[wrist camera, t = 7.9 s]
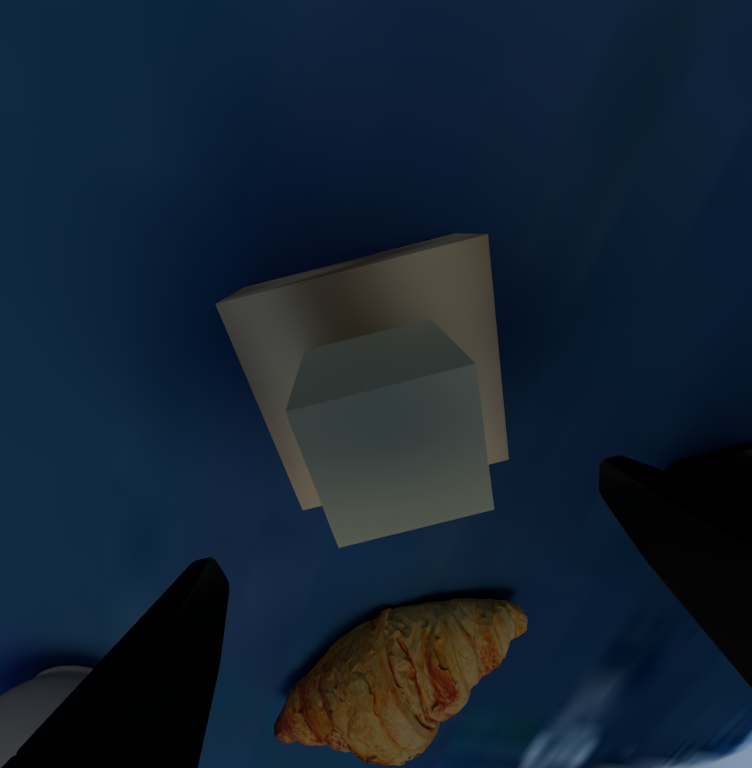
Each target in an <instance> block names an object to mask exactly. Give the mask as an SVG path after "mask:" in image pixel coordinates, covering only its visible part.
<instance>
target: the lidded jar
mask: <svg viewBox="0 0 752 768" xmlns="http://www.w3.org/2000/svg"><path fill="white" fill-rule="evenodd" d="M93 669H94V668H91V667H86V666H78V665H64V666H57V667H52V668H49V669H46V670H44V671H42V672H40V673H39V674H38V675H37V676H36V677H35V678H33V679H31V680H29V681H26V682H24V683H22V684H19V685H17V686H16V687H14V688H12V689H10V690H8V691H7V692H5V693H3V694H2V695H0V768H1V767H2V766H3V765H4V764H5V763H6V762H7V761H8V760H9V759H10V758H11V757H12V756H14V755H16V753H17V751H18V749H19V748H20V747H21V746H22V745H23V744H24V743H25V742H26V741H27V740H28V738H29V737H30V736H31V735H32V734H33V733H34V732H35V731H36V730H37V729H38V728H39V727H40V726H41V725H42V723H43V722H44V721H45V720H46V719H47V718H48V717H49V716H50V715H51V714H52V713H53V712H54V711H55V709H56V708H57V707H58V706H59V705H60V704H61V703H62V702H63V701H64V700H65V699H66V698H67V697H68V696H69V694H70V693H71V692H72V691H73V690H74V689H75V688H76V687H77V686H78V685H79V684H80V683H81V682H82V680H83V679H84V678H85V677H86V676H87V675H88V674H89V673H90V672H91V671H92V670H93Z"/></svg>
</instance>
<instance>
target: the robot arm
mask: <svg viewBox="0 0 752 768" xmlns="http://www.w3.org/2000/svg"><path fill="white" fill-rule="evenodd" d="M599 490H600V493H601V496H602V498H603V499H604V501H605V502H606V504H607V505H608V506H609V508H610V509H611V511H612V512H613V514H614V515H615V517H616V518H617V520H618V521H619V522H620V524H621V525H622V527H623V528H624V530H625V531H626V533H627V534H628V536H629V537H630V538H631V540H632V541H633V543H634V544H635V546H636V547H637V549H638V550H639V552H640V553H641V554H642V556H643V557H644V558H645V560H646V561H647V562H648V564H649V565H650V566H651V567H652V569H653V570H654V571H655V572H656V574H657V575H658V576H659V577H660V578H661V580H662V581H663V582H664V583H665V584H666V586H667V587H668V588H669V589H670V590H671V592H672V593H673V594H674V595H675V596H676V598H677V599H678V600H679V601H680V602H681V604H682V605H683V606H684V607H685V608H686V610H687V611H688V612H689V613H690V614H691V616H692V617H693V618H694V619H695V620H696V622H697V623H698V624H699V625H700V626H701V628H702V629H703V630H704V631H705V632H706V634H707V635H708V636H709V637H710V638H711V640H712V641H713V642H714V643H715V644H716V646H717V647H718V648H719V649H720V650H721V652H722V653H723V654H724V655H725V656H726V658H727V659H728V660H729V661H730V662H731V664H732V665H733V666H734V667H735V668H736V670H737V671H738V672H739V673H740V674H741V676H742V677H743V678H744V679H745V681H746V682H747V683H748V684H749V685H750V687H751V688H752V444H749V445H745V446H741V447H737V448H732V449H728V450H724V451H720V452H716V453H712V454H708V455H704V456H700V457H696V458H692V459H688V460H683V461H679V462H676V463H674V464H672V465H671V466H670V467H669V470H668V472H667V471H664V470H661V469H658V468H655V467H653V466H650V465H647V464H644V463H641V462H639V461H636V460H633V459H630V458H627V457H624V456H614V457H610V458H606V459H603V460H602V461H601V463H600V474H599ZM228 597H229V583H228V580H227V578H226V576H225V574H224V573H223V571H222V569H221V568H220V566H219V565H218V563H217V561H216V560H215V559H214V558H212V557H208V558H204V559H200V560H196V561H194V562H193V563H192V564H190V565H189V567H188V568H187V569H186V570H185V571H184V572H183V573H182V574H181V575H180V576H179V577H178V578H177V579H176V581H175V582H174V583H173V584H172V585H171V586H170V587H169V588H168V589H167V590H166V591H165V592H164V593H163V594H162V596H161V597H160V598H159V599H158V600H157V601H156V602H155V603H154V604H153V605H152V606H151V607H150V608H149V610H148V611H147V612H146V613H145V614H144V615H143V616H142V617H141V618H140V619H139V620H138V621H137V622H136V624H135V625H134V626H133V627H132V628H131V629H130V630H129V631H128V632H127V633H126V634H125V635H124V636H123V638H122V639H121V640H120V641H119V642H118V643H117V644H116V645H115V646H114V647H113V648H112V649H111V650H110V651H109V653H108V654H107V655H106V656H105V657H104V658H103V659H102V660H101V661H100V662H99V663H98V664H97V665H96V667H95V668H94V669H93V670H92V671H91V672H90V673H89V674H88V675H87V676H86V677H85V678H84V679H83V680H82V682H81V683H80V684H79V685H78V686H77V687H76V688H75V689H74V690H73V691H72V692H71V693H70V694H69V696H68V697H67V698H66V699H65V700H64V701H63V702H62V703H61V704H60V705H59V706H58V707H57V708H56V709H55V711H54V712H53V713H52V714H51V715H50V716H49V717H48V718H47V719H46V720H45V721H44V722H43V723H42V725H41V726H40V727H39V728H38V729H37V730H36V731H35V732H34V733H33V734H32V735H31V736H30V737H29V738H28V740H27V741H26V742H25V743H24V744H23V745H22V746H21V747H20V748H19V749H18V751H17V753H16V755H14V756H12V757H11V758H10V759H9V760H8V761H7V762H6V763H5V764H4V765H3V766H2V767H1V768H198V764H199V759H200V755H201V750H202V746H203V741H204V736H205V732H206V727H207V723H208V718H209V714H210V709H211V704H212V700H213V695H214V691H215V686H216V681H217V676H218V671H219V666H220V660H221V653H222V645H223V637H224V629H225V621H226V613H227V605H228Z"/></svg>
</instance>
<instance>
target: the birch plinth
mask: <svg viewBox="0 0 752 768" xmlns="http://www.w3.org/2000/svg"><path fill="white" fill-rule="evenodd" d="M216 307H217V309H218V311H219V314H220V316H221V318H222V321H223V323H224V326H225V328H226V330H227V333H228V335H229V337H230V340H231V342H232V344H233V347H234V349H235V351H236V354H237V356H238V359H239V361H240V363H241V366H242V368H243V370H244V373H245V375H246V377H247V380H248V382H249V384H250V387H251V389H252V392H253V394H254V396H255V399H256V401H257V403H258V406H259V408H260V410H261V413H262V415H263V417H264V420H265V422H266V425H267V427H268V429H269V432H270V434H271V436H272V439H273V441H274V443H275V446H276V448H277V450H278V453H279V455H280V458H281V460H282V462H283V465H284V467H285V469H286V472H287V474H288V476H289V479H290V481H291V484H292V486H293V488H294V491H295V493H296V495H297V498H298V500H299V502H300V505H301V507H302V509H303V510H306V509H310V508H314V507H318V506H322V504H321V502H320V499H319V497H318V494H317V491H316V489H315V486H314V484H313V481H312V479H311V476H310V474H309V471H308V469H307V466H306V464H305V461H304V459H303V456H302V453H301V451H300V448H299V446H298V443H297V441H296V438H295V436H294V433H293V431H292V428H291V426H290V423H289V421H288V418H287V415H286V413H285V411H286V408H287V405H288V401H289V398H290V395H291V392H292V389H293V386H294V382H295V379H296V376H297V373H298V370H299V366H300V363H301V360H302V357H303V354H304V351H305V350H309V349H313V348H317V347H321V346H325V345H329V344H333V343H337V342H341V341H345V340H348V339H352V338H356V337H360V336H364V335H368V334H372V333H376V332H380V331H384V330H388V329H391V328H395V327H399V326H403V325H407V324H411V323H415V322H419V321H423V320H427V319H432V320H433V321H434V322H435V323H436V324H437V325H438V326H439V327H440V328H441V329H442V330H443V331H444V332H445V333H446V334H447V335H448V336H449V337H450V338H451V339H452V340H453V341H454V342H455V343H456V344H457V345H458V346H459V347H460V348H461V349H462V350H463V351H464V352H465V353H466V354H467V355H468V356H469V357H470V358H471V359H472V360H473V361H474V362H475V363H476V368H477V376H478V384H479V392H480V400H481V408H482V416H483V424H484V432H485V440H486V448H487V456H488V464H493V463H497V462H501V461H505V460H509V456H508V445H507V435H506V424H505V413H504V402H503V391H502V380H501V369H500V359H499V348H498V337H497V326H496V315H495V304H494V293H493V282H492V272H491V261H490V250H489V239H488V234H461V233H454V234H450V235H446V236H443V237H439V238H435V239H431V240H427V241H423V242H419V243H415V244H411V245H407V246H404V247H400V248H396V249H392V250H388V251H384V252H380V253H376V254H372V255H368V256H365V257H361V258H357V259H353V260H349V261H345V262H341V263H337V264H333V265H329V266H326V267H322V268H318V269H314V270H310V271H306V272H302V273H298V274H294V275H290V276H286V277H283V278H279V279H275V280H271V281H267V282H263V283H259V284H255V285H251V286H247V287H244V288H242V289H240V290H239V291H237V292H235V293H233V294H232V295H230V296H228V297H227V298H225V299H223V300H221V301H220V302H218V303H216Z"/></svg>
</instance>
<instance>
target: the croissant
mask: <svg viewBox="0 0 752 768" xmlns="http://www.w3.org/2000/svg"><path fill="white" fill-rule="evenodd" d="M527 622H528V620H527V616H526V615H525V614H524V611H523V610H522V609H520V605H518V604H515V603H512V602H510V601H507V600H496V599H493V598H490V599H474V598H463V599H459V598H458V599H452V600H449V601H436V602H425V603H422V604H418V605H409V606H403V607H398V608H395V609H393V610H392V609H391V608H387V609H385V610H383V611H382V612H381V613H380V615H379V616H378V617H377V618H375V619H374V620H370V621H368V622H365V623H362V624H360V625H359V626H357V627H355V628H353V629H352V630H351V631H350V632H349V633H347V634H346V635H344V636H343V637H341V638H339V639H338V640H337V641H336V642H335V643H334V644H333V645H332V646H331V647H330V649H329V650H328V652H327V653H326V655H325V656H323V657H322V658H321V659H320V660H319V661H318V662H317V664H316V665H315V666H314V667H313V668H312V669H311V670H310V671H309V672H308V673H307V674H306V675H305V676H304V677H303V678H302V679H301V680H300V681H298V682H297V684H296V685H295V686H294V687H293V688H292V690H291V691H290V694H289V696H288V698H287V700H286V702H285V704H284V707H283V709H282V711H281V713H280V715H279V716H278V718H277V720H276V722H275V725H274V737H276V738H278V739H279V740H281V741H282V742H283V743H288V744H292V743H293V742H294V741H296V740H297V741H298V742H300V743H302V744H305V745H319V746H323V745H325V744H328V745H329V746H330V747H331V748H333V749H334V750H341V751H342V752H348V751H351V752H353V753H354V754H355V755H356V756H357V757H358V758H359V759H361V760H362V761H366V763H368V762H370V763H375V764H378V765H386V766H389V765H399V766H400V765H403V764H405V760H411V759H414V756H416V757H419V753H423V752H424V751H425V749H426V748H427V746H428V745H429V744H430V743H431V742H432V740H433V738H434V737H435V735H436V734H437V732H438V728H439V724H440V721H445V720H446V719H448V718H450V717H452V716H454V715H455V714H456V713H458V712H459V711H460V710H461V709H462V707H463V706H464V705H465V704H466V703H467V702H468V698H469V695H470V690H471V688H472V687H473V685H476V684H478V682H479V680H480V678H482V677H484V676H485V675H487V674H488V673H490V672H491V671H493V670H494V669H495V668H497V667H499V666H500V663H501V661H502V660H503V659H504V658H505V655H506V653H507V650H508V647H509V643H510V641H511V640H512V639H513V638H516V637H518V636H520V635H521V634H523V633H524V632H525V631H526V630H527Z"/></svg>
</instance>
